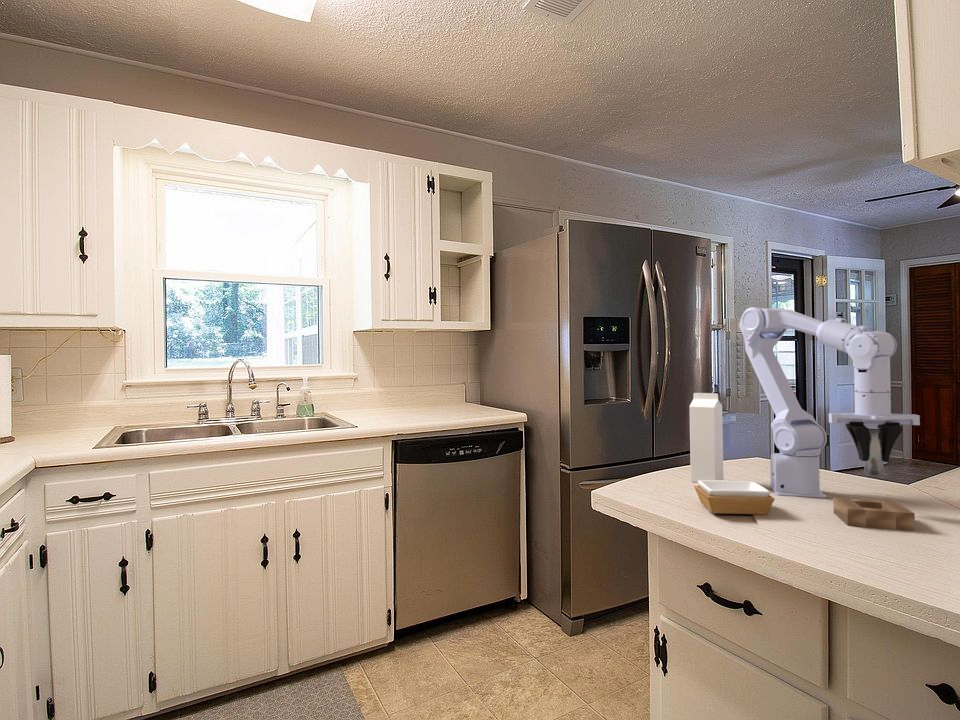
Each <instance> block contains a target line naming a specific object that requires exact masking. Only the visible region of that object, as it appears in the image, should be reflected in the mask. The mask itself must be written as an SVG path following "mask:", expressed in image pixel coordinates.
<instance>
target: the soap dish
mask: <svg viewBox="0 0 960 720" xmlns="http://www.w3.org/2000/svg"><path fill="white" fill-rule="evenodd" d="M694 490H695V491H696V494H697V496H698V499H699V502H700V504H702V505H703V506H704V507H705V508H706V509H707V510H709V512H710V513H712V514H713V515H717V514H731V515H732V514H733V515H735V514H736V515H738V514H739V515H767V514H768V513H769V511H770V509H771V508H772V505H773V503H774V502H775V497H773V496H771V495H770V494H771V492H770V491H769V489H767V488H766V487H764V486H762V485H760V484H759V483H757V482H754V481H749V480H748V481H747V480H728V479H727V480H724V479H723V480H699V481H698V485H694Z"/></svg>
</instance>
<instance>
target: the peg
mask: <svg viewBox="0 0 960 720" xmlns="http://www.w3.org/2000/svg"><path fill="white" fill-rule="evenodd" d="M866 427H867V426H866ZM867 428H868V429H869V430H868V436H867V456H868V457H867V461H863V463H864V464H863V465H864V474H866V475H869V476H876V477H878V476H884V475H885V473H884V461H883V429H882V428H878V427H869V426H868V427H867Z"/></svg>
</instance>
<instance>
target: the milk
mask: <svg viewBox="0 0 960 720" xmlns="http://www.w3.org/2000/svg"><path fill="white" fill-rule="evenodd" d="M723 437H724V431H723V405H722V402H720V399H719V394H718V393H716V392H714V393H713V392H693V399H692V401H691V403H690V404H689V447H690V448H689V449H690V451H689V452H690V456H689V457H690V458H689V459H690V463H689V464H690V482H692V483H698V481H699V480H724V440H723Z"/></svg>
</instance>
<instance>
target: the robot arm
mask: <svg viewBox="0 0 960 720" xmlns="http://www.w3.org/2000/svg"><path fill="white" fill-rule="evenodd" d="M739 321H740V322H739V324H738V327H739V329H740V331H741V333H742V336H743V340H744V349H745V352H746V356H747V357H748V359H749V361H750V364H751V366H752V369H753V370H754V372H755V375H756V377H757V379H758V381H759V382H760V384H761V387H762V390H763V391H764V394H765V396H766V397H767V400H768V402H769V405H770V407H771V409H772V411H773V413H774V415H775V418H774V419H773V420H772V422H771V424H770V427H771V430H772V433H773V434H772V435H773V442H774V445H775V446H776V448H777V449H778V450H779V453H777V452H774V453H771V455H770V468H769V469H770V486H769V488H770V489H771V490H772V491H773V492H774V494H776V495H778V496H789V497H802V498H803V497H804V498H805V497H806V498H817V499H818V498H822V499H823V498H824V499H826V498H827V495H826V494H825V493H823V492H822V491H821V490H820V489H821V488H820V486H821V485H820V484H821V483H820V455H821V454H822V452H821V451H822V450H823V448H824V447H825V446H826V444H827V441H828V440H827V439H828V437H827V433H826V431H825V429H824V428H823V426H821V425H820V424H819V423H818V422H817V421H816V419H815V418H814V415H812V414H810V413H809V412H807V411H806V410H804V409H803V408H802V407H801V404H800V403H799V400H798V399H797V398H798V397H797V396H796V395H795V393H794V390H793V389H792V387H791V384H790V383H789V380H788V378H787V376H786V374H785V372H784V369H783V368H782V366H781V364H780V362H779V360H778V358H777V356H776V354H775V352H774V347H775V346H776V345H777V344H778V342H779V341H780V340H781V339H782V337H783V336H784V334H785V333H786V332H787V330H796V331H799V332H802V333H805V334H808V335H812V336H816V337H817V340H818V342H819V343H820V344H822V345H823V346H826V347H829V348H832V349H835V350H838V351H840V352H844V353H845V354H848V356H849V357H850V358H851V361H852V367H853V371H854V372H853V375H854V378H853V382H854V386H853V387H854V388H853V390H854V412H828V423H829V424H845V428H846V429H847V430H848V433H849V434H850V436H851V437H852V440H853V442H854V445H855V447H856V450H857V454H858V458H859V461H861V462H864V461H867V457H868V456H867V436H868V430H869V429H868V428H867V426H866V424H868V425H870V424H871V425H877V427H876V428H882V429H883V463H884V462H885V463H888V462H889V461H890V457H891V453H892V449H893V447H894V445H895V443H896V441H897V440H898V438H899V436H900V435H901V433H902V432H903V426H902V425H907V426H908V425H912V426H921V422H920V418H921V415H919V414H915V413H913V414H911V413H908V414H907V413H892V402H891V401H892V400H891V398H892V397H891V395H892V393H891V388H892V387H891V357H893V356H894V355H895V353H896V351H897V347H898V346H897V345H898V342H897V340H896V338H895V337H894V335H892V334H891V333H888V332H886V330H874V331H871V330H870V329H869V326H866V325H856V324H852V323H848V322H847V319H845V318H842V317H836V318H835V319H834V318H830V319H828V320H826V321H822V320H820V319H816V318H814V317H811V316H809V315H805V314H803V313H800V312H797V311H795V310H792V309H785V308H782V307H777V308H771V307H770V308H769V307H768V308H767V307H766V308H765V307H764V308H763V307H754V306H753V307H752V306H751V307H749V308H746V309H745V310H744V312H743V313H742V315H741V317H740V320H739Z"/></svg>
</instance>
